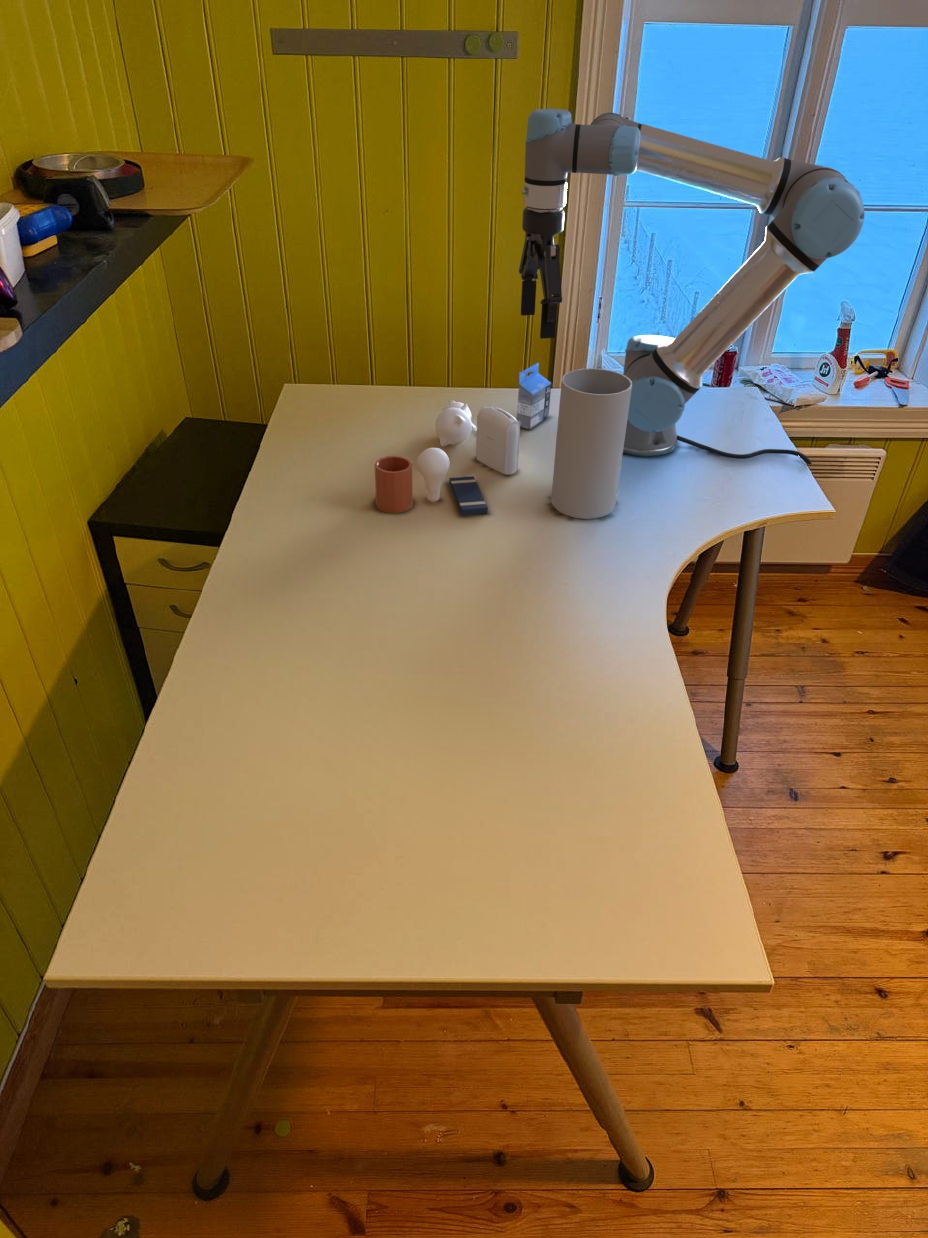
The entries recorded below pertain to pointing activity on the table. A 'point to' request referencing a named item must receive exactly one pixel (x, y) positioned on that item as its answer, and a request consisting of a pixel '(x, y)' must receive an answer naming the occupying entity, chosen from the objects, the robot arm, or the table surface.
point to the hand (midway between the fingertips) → (537, 325)
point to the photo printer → (497, 439)
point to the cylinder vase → (590, 442)
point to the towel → (468, 496)
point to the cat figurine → (454, 423)
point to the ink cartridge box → (533, 398)
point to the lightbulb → (433, 471)
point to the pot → (394, 484)
